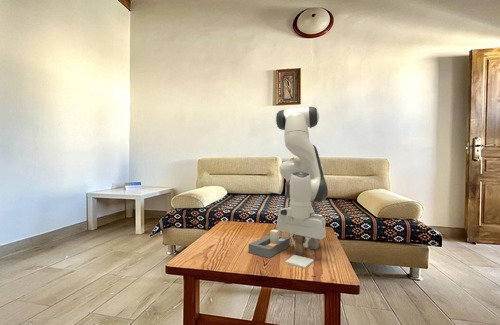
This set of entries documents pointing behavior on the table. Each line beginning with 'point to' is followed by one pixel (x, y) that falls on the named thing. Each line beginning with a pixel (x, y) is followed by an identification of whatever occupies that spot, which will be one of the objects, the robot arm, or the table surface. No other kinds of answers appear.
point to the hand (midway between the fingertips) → (300, 245)
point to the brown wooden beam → (299, 245)
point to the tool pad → (299, 261)
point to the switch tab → (274, 235)
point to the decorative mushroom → (313, 243)
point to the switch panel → (268, 246)
